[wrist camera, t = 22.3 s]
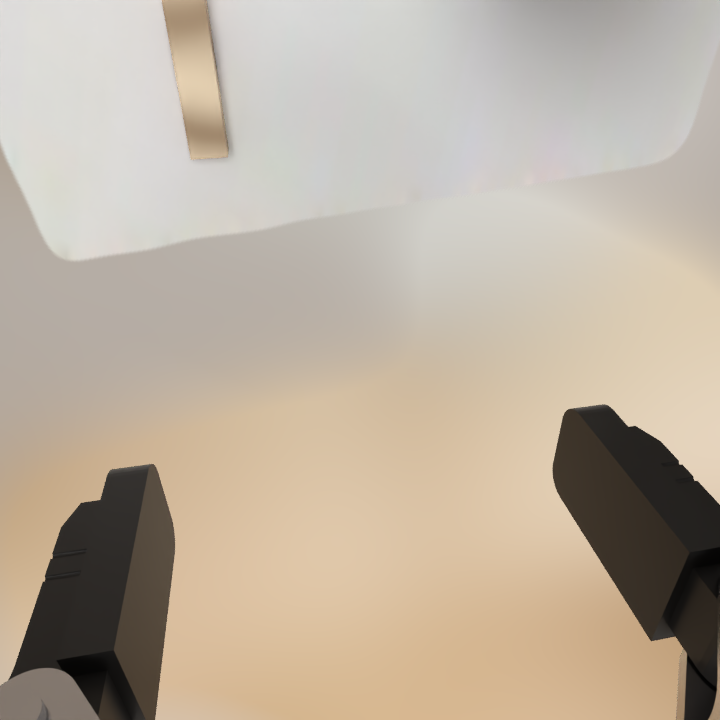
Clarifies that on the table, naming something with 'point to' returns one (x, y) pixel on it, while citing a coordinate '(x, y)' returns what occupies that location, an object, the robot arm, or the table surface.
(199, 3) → the mallet
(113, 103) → the table surface
